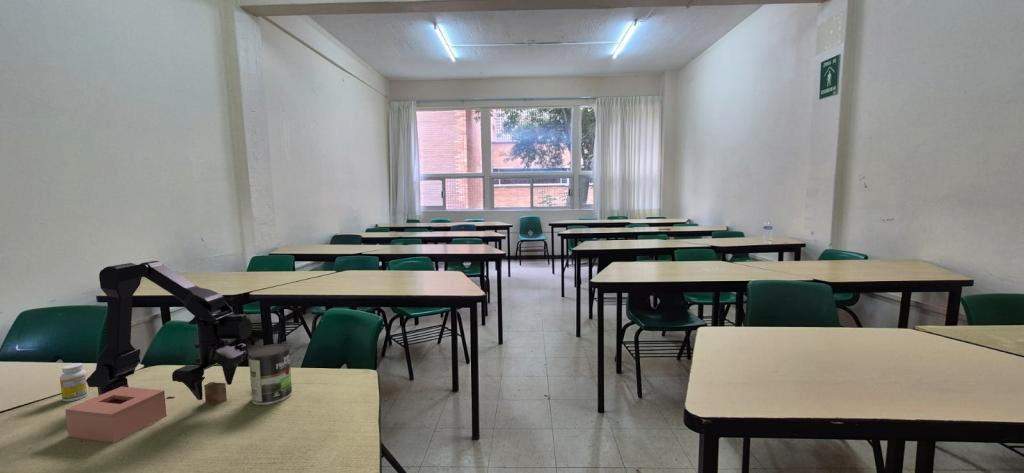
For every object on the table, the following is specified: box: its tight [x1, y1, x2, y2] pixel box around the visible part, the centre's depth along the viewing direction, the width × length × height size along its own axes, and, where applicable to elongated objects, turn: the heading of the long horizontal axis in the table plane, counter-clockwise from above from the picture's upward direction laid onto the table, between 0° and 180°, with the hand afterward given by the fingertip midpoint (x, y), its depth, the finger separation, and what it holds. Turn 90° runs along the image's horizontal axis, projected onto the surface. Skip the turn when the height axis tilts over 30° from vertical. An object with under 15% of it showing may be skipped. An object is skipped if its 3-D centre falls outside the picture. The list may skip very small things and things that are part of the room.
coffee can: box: [247, 343, 293, 406], centre depth 116 cm, size 10×10×14 cm
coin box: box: [64, 387, 167, 443], centre depth 102 cm, size 14×12×7 cm
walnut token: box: [203, 381, 228, 404], centre depth 114 cm, size 5×2×5 cm, turn 80°
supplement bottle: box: [59, 362, 90, 402], centre depth 117 cm, size 5×5×10 cm
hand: (215, 391), depth 114 cm, fingers open, 9 cm apart
